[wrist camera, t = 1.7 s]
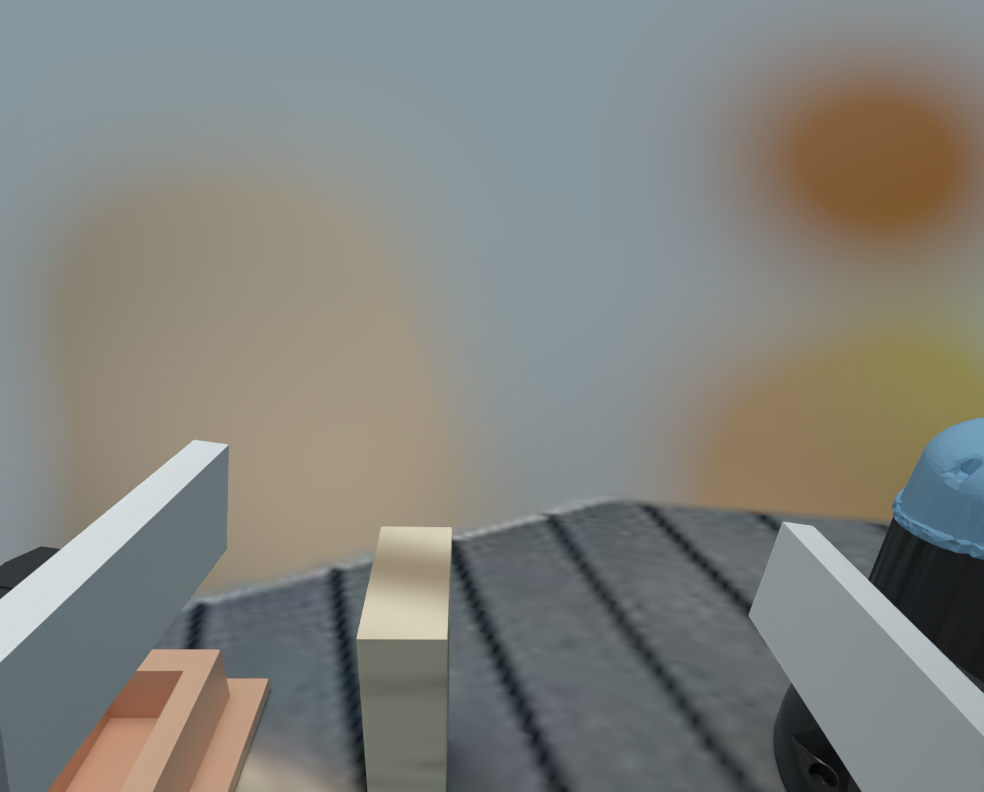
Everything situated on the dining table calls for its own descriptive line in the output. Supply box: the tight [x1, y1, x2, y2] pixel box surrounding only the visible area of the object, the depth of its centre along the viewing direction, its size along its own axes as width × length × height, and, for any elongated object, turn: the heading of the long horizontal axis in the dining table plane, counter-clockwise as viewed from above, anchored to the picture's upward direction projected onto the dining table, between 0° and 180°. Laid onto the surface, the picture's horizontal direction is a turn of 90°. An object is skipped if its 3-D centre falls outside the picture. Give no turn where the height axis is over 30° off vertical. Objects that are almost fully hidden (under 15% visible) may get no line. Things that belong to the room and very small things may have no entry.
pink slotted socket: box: [47, 650, 270, 792], centre depth 30 cm, size 14×12×5 cm
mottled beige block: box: [356, 527, 452, 792], centre depth 29 cm, size 7×4×16 cm, turn 2°
